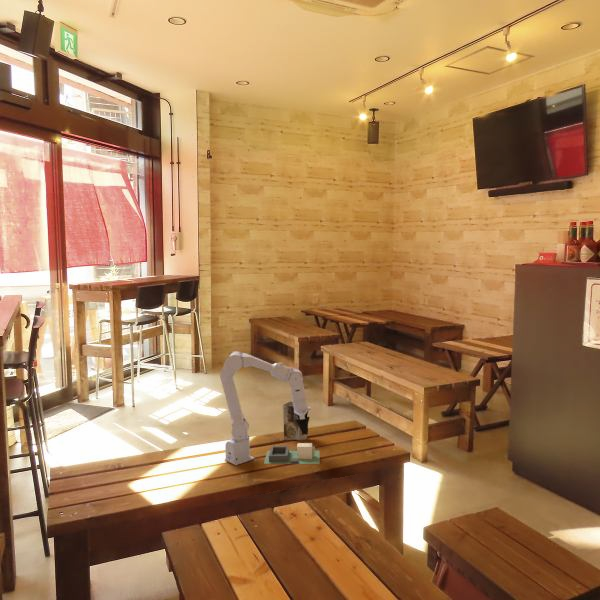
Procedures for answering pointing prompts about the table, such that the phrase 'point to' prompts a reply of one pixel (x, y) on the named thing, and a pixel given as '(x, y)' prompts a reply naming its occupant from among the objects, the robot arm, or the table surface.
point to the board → (288, 456)
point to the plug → (305, 451)
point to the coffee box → (291, 424)
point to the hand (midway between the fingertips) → (304, 430)
